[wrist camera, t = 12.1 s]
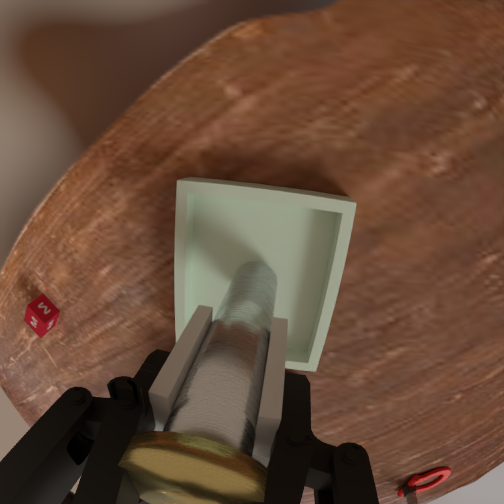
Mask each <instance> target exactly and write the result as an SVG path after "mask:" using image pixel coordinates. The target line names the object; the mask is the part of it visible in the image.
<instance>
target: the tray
mask: <svg viewBox="0 0 504 504" xmlns="http://www.w3.org/2000/svg"><path fill="white" fill-rule="evenodd" d="M356 204H357V203H356V202H355V201H354V200H352V199H351V198H350V197H346V196H341V195H335V194H328V193H322V192H316V191H309V190H302V189H296V188H288V187H281V186H273V185H266V184H257V183H249V182H240V181H231V180H221V179H210V178H199V177H187V178H183V179H180V180H177V191H176V213H175V252H174V292H175V331H176V343H177V341H178V339H179V338H180V336H181V334H182V332H183V331H184V329H185V327H186V326H187V324H188V322H189V320H190V319H191V317H192V315H193V314H194V312H195V310H196V309H197V307H198V305H204V306H209V307H213V314H212V322H213V319H214V317H215V315H216V313H217V311H218V309H219V307H220V304H221V302H222V300H223V298H224V296H225V294H226V291H227V289H228V287H229V285H230V283H231V281H232V279H233V276H234V274H235V272H236V270H237V269H238V268H239V267H240V266H241V265H243V264H245V263H247V262H253V261H256V262H261V263H264V264H266V265H268V266H269V267H270V268H271V269H272V270H273V271H274V272H275V274H276V276H277V281H278V284H277V293H276V301H275V308H274V316H273V317H278V318H285V319H288V328H287V345H286V361H285V368H288V369H297V370H305V371H315V372H316V369H317V366H318V363H319V359H320V356H321V353H322V349H323V346H324V343H325V339H326V336H327V332H328V328H329V325H330V321H331V317H332V314H333V310H334V306H335V302H336V298H337V294H338V290H339V286H340V282H341V278H342V273H343V269H344V264H345V260H346V255H347V251H348V246H349V241H350V236H351V231H352V226H353V221H354V215H355V210H356Z"/></svg>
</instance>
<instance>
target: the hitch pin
mask: <svg viewBox="0 0 504 504" xmlns="http://www.w3.org/2000/svg"><path fill="white" fill-rule="evenodd" d="M277 284H278V281H277V276H276V274H275V272H274V271H273V270H272V269H271V268H270V267H269V266H268V265H266V264H264V263H261V262H256V261H253V262H247V263H245V264H243V265H241V266H240V267H239V268H238V269H237V270H236V272H235V274H234V276H233V279H232V281H231V283H230V285H229V287H228V289H227V291H226V294H225V296H224V298H223V300H222V302H221V304H220V307H219V309H218V311H217V313H216V315H215V317H214V319H213V322H212V324H211V326H210V328H209V330H208V332H207V335H206V337H205V339H204V341H203V343H202V345H201V348H200V350H199V352H198V354H197V356H196V359H195V361H194V363H193V365H192V367H191V369H190V372H189V374H188V376H187V378H186V380H185V383H184V385H183V387H182V389H181V391H180V393H179V396H178V398H177V400H176V402H175V404H174V407H173V409H172V411H171V413H170V415H169V418H168V420H167V422H166V424H165V426H164V429H163V431H147V432H142V433H139V434H137V435H135V436H134V437H132V439H131V441H130V443H129V445H128V447H127V449H126V451H125V453H124V455H123V456H122V458H121V460H120V462H119V464H118V466H120V467H123V468H125V469H126V471H127V473H128V475H129V477H130V479H131V481H132V483H133V485H134V486H135V488H136V490H137V492H138V493H139V495H140V498H141V499H142V500H144V501H146V502H148V503H149V504H254V502H255V501H256V502H264V496H265V488H266V481H267V473H268V469H267V468H266V467H265V466H264V465H263V464H262V463H260V462H259V461H258V460H256V459H254V458H253V457H252V455H253V449H254V444H255V437H256V433H255V431H256V425H257V419H258V413H259V406H260V400H261V394H262V387H263V381H264V374H265V368H266V361H267V354H268V347H269V340H270V333H271V327H272V321H273V316H274V308H275V301H276V293H277Z"/></svg>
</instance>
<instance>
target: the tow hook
mask: <svg viewBox="0 0 504 504" xmlns="http://www.w3.org/2000/svg"><path fill="white" fill-rule="evenodd" d="M450 473H451V470H450V468H449V467H443V468H439V469H435V470H433V471H430V472H428V473H426V474H424V475H420V476H419V475H414V476H413V477H412V478H411V479H410V480H409V481H408V482H407V483H406V484H405V485H404V486H403V487H402V489H401V490H400V491H399V492H398V496H400V497H401V496H403V495H404V497H406V498H407V503H408V504H418V502H417V497H416V493H418V492H422V491H425V490H427V489H430V488H432V487H434V486H436V485H438V484H439V483H441V482H442V481H444V480H445V479H446V478H447V477H448V476H449V475H450ZM440 474H442V475H441V476H440V477H439V478H438V479H437V480H435V481H433V482H431V483H429V484H427V485H424V486H421V487H416V485H415V484H417V483H421V482H422V481H424V480H426V479H428V478H430V477H433V476H436V475H440Z"/></svg>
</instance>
